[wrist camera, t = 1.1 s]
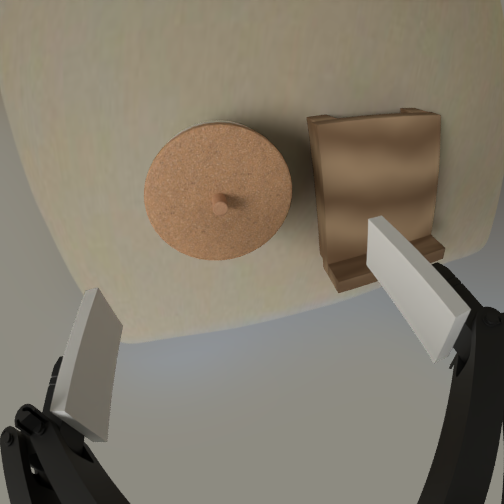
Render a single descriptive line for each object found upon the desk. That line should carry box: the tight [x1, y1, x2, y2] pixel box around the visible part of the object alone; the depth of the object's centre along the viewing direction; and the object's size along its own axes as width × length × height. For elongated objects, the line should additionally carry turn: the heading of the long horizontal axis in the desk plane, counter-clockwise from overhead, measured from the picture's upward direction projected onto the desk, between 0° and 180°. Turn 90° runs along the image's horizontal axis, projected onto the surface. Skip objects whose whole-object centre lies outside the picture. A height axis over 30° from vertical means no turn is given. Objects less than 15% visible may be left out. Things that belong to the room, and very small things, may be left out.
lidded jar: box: [144, 120, 292, 260], centre depth 23 cm, size 11×11×9 cm
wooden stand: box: [307, 108, 445, 293], centre depth 27 cm, size 16×14×7 cm
